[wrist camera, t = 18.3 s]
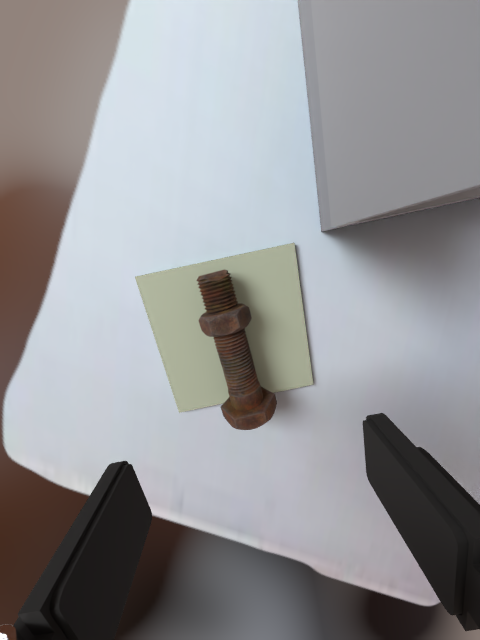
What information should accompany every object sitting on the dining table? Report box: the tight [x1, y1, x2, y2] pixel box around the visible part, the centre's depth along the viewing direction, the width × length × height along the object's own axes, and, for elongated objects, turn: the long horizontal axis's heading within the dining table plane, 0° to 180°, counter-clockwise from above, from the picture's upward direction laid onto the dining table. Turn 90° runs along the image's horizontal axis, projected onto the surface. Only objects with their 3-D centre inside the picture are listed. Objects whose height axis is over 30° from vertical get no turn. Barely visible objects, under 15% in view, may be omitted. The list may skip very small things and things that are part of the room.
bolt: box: [196, 269, 277, 430], centre depth 22 cm, size 6×5×15 cm
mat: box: [135, 243, 313, 413], centre depth 25 cm, size 16×16×1 cm
